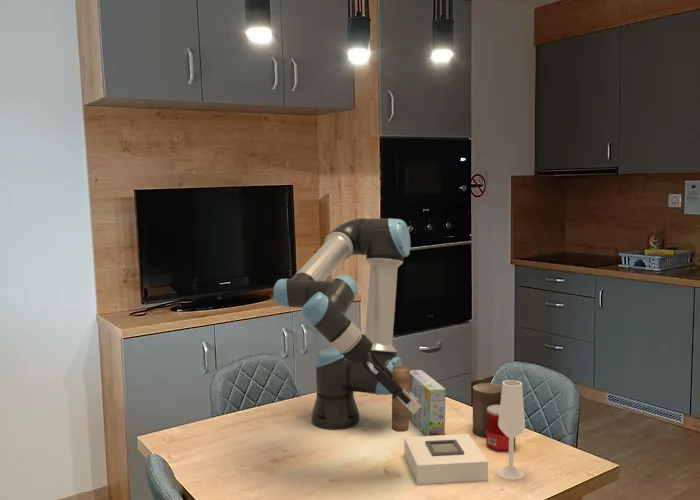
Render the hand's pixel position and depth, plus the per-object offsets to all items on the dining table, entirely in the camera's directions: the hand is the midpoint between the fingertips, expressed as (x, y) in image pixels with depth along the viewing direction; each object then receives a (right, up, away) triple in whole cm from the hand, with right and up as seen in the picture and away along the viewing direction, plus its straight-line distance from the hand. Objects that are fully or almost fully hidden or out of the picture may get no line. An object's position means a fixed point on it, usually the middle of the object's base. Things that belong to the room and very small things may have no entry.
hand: (415, 406), depth 168 cm
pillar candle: (+25, -15, +28) cm, 40 cm away
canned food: (+26, -16, +17) cm, 35 cm away
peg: (-4, -6, 0) cm, 7 cm away
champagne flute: (+25, -18, 0) cm, 30 cm away
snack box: (+6, -14, +34) cm, 37 cm away
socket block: (+8, -17, +5) cm, 19 cm away
